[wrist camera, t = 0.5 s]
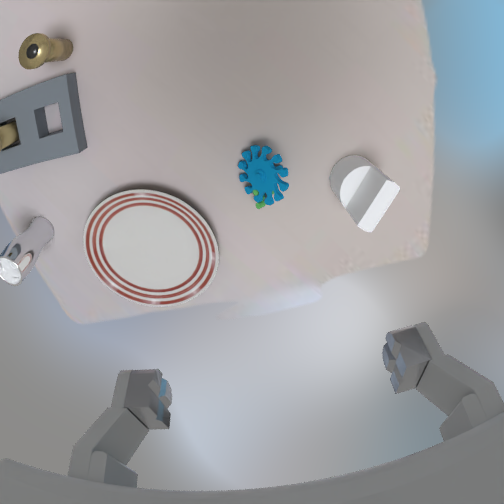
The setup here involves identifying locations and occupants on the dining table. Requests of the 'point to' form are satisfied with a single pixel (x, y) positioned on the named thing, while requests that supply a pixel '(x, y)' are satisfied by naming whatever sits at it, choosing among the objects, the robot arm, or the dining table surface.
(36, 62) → the bushing
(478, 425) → the robot arm
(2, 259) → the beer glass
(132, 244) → the dinner plate
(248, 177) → the gear
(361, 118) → the dining table surface
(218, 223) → the dining table surface
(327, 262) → the dining table surface
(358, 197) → the white toy chair
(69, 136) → the jig
